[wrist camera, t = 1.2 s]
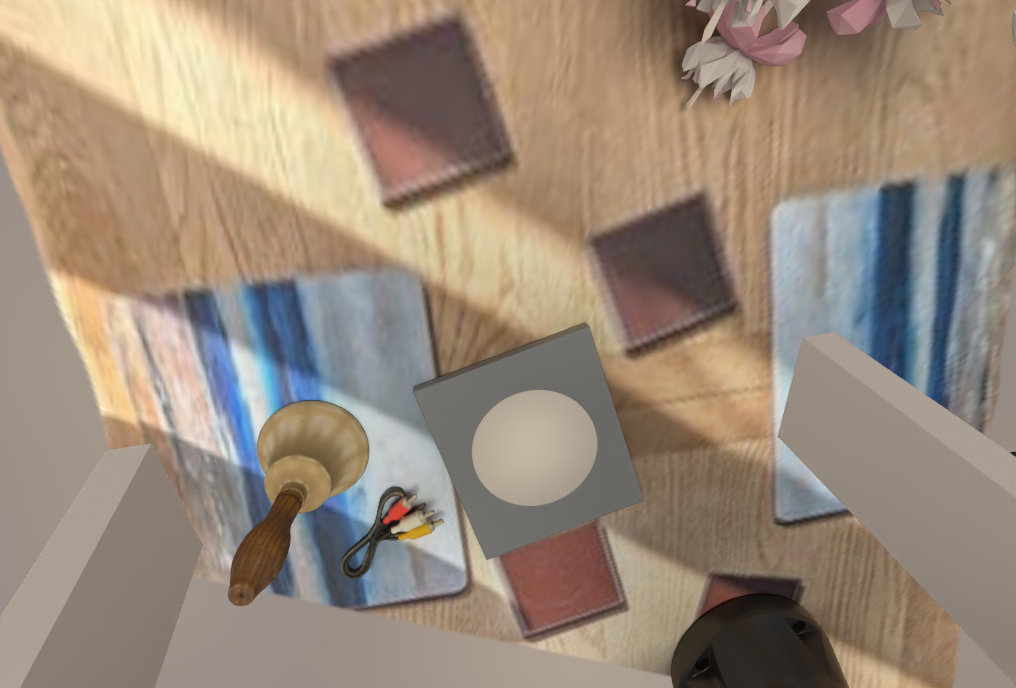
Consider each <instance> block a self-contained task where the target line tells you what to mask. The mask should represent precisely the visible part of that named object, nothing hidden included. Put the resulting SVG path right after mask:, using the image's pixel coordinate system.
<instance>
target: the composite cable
mask: <svg viewBox="0 0 1016 688" xmlns="http://www.w3.org/2000/svg"><path fill="white" fill-rule="evenodd" d="M392 496H401V497H402V498H401V499H400V500H399V501H398V502H397V503H396V504H395V505H393V506H392V507H391V508H390V509H389V512H388V515H387V516H385V517H384V518H383V522H382V523H381V520H380V519H381V513H382V510H383V506H384V504H385V502H386V501H387V500H388V499H389V498H391V497H392ZM416 498H417V495H416V494H414V495H413V496H412V497H407V496H406V494H405V492H404V490H403V489H402V488H399V487H392V488H390V489H388V490H387V491H386V492H385V493H384V494H383V496H382V497H381V499H380V502H379V506H378V511H377V516H376V520H375V523H374V525H373V527H372V529H371V530H370V532H369V533H368V534H367V535H366V536H364V537H363V538H362V539H361V540H360V541H359V542H357V543H356V544H355V545H354V546H353V547H352V548H351V549H350V550H349V551H348V552H347V553H346V555H345V556H344V558H343V560H342V562H341V570H342V573H343V574H344V576H346V577H347V578H349V579H357V578H360V577H361V576H363V575H364V574H365V573H366V572H367V571H368V570H369V568H370V566H371V562H372V560H373V557H374V554H375V551H376V548H377V545H378V543H379V542H380V541H382V540H391V541H395V540H398V539H399V540H400V541H401V540H404V539H406V538H410V539H416V538H419V537H421V536H424V535H427V534H430V533H432V531H434V529H435V527H436V526H438V525H441V524H443V523H444V521H443V519H439V520H438V521H429V520H427V517H429V516H431V515H433V514H434V513H435V511H434V510H431V511H428V512H424V511H423V509H425V506H426V504H425V503H423V504H421V505H419V506H418V507H417V506H414V507H413V508H412V501H414V500H415V499H416ZM401 531H404V532H401ZM396 535H398V536H397V537H395V536H396ZM392 536H393V537H392ZM368 542H370V546H369V549H368V551H367V554H366V557H365V560H364V562H363V564H362V565H361V566H360V567H359V568H357V569H352V568H351V567H349V564H348V562H349V560H350V559H351V558H352V556H353V555H354V554H356V553H357V552H358V551H359V550H360V549H361V548H363V547H364V546H365V545H366V544H367V543H368Z"/></svg>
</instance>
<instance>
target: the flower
mask: <svg viewBox="0 0 1016 688" xmlns="http://www.w3.org/2000/svg"><path fill="white" fill-rule="evenodd" d="M809 1H810V0H767V2H766V3H765V5H764V6H763V0H701V1H700V3H699V5H698V6H697V8H696V9H698V10H701V11H703V12H706V13H707V14H708V16H709V17H710V19H711V20H710V21H709V23H708V24H707V27H706V28H705V30H704V34H703V38H702V42H700V41H699V42H698V43H696V44H694V45H692V46H691V47H689V48H688V49H687V52H686V54H685V57H684V59H683V62H682V67H683V71H687V70H689V69H690V70H689V72H688V74H687V75H686V76H684V77H683V78H681V79H688V78H689V77H690V76H691V75H692V73H693V72H695V74H694V76H693V77H694V78H693V79H691V78H692V77H691V78H690V79H691V80H694V82H695V83H698V84H699V86H700V87H699V88H698V90H697V91H696V92H695V94H694V95H693V96H692V97H691V99H690V100H689V101H688V103H687V110H688V109H689V108H690V107H691V106H692V104H693V103H694V102H695V100H696V99H697V97H698V96H699V94H700V93H701V92H702V90H703V89H704V87H705V86H706V85H708V84H710V83H711V82H713V81H714V82H713V85H712V88H713V87H715V86H716V87H715V90H714V102H715V99H717V102H718V103H719V99H720V94H722V93H724V92H726V91H728V90H730V89H732V92H731V97H730V102H729V106H730V105H731V104H732V102H733V101H734V100H740V99H747V98H749V97H750V96H751V95H752V91H753V86H754V81H755V77H756V72H755V68H754V65H753V61H752V60H754V61H756V62H758V63H760V64H762V65H764V66H787V65H788V64H789V63H790V62H791V61H793V60H794V59H795V58H796V57H798V56H799V55H800V54H801V52H802V49H803V46H804V43H805V40H806V36H807V35H806V34H804V33H803V32H802V31H801V30H800V29H799V30H798V27H799V24H797V23H795V22H793V21H791V20H792V19H793V18H794V17H795V16H796V15H797V14H798V13H799V12H800V11H801V10H802V9H803V8H804V7H805V5H806V4H807V3H808V2H809ZM946 1H947V2H949V1H948V0H946ZM949 3H950V2H949ZM950 4H951V3H950ZM695 5H696V0H690V1H689V2H688V3H687V4H686V5H685V6H695ZM940 5H941V2H939V0H930V1H929V0H851V1H849V2H847V3H845V4H842V5H840V6H838V7H835V8H833V9H831V10H829V11H826V12H827V15H828V18H829V21H830V25H831V28H832V30H833V31H834V32H836V33H837V34H838V35H846V34H856V33H859V32H860V31H862V30H863V29H864V28H865V27H866V26H867V25H872V24H880V22H881V21H882V20H883V19H884V17H885V16H886V15H887V14H888V16H889V19H890V22H891V25H892V28H897V29H910V30H917V29H918V28H919V27H920V26H921V25H922V23H921V21H920V19H919V17H918V15H917V13H916V11H929V12H932V13H935V14H938V15H941V16H943V13H942V10H941V7H940ZM773 6H774V8H775V9H776V11H777V20H778V27H777V28H775V29H773V30H772V31H770V32H769V33H767V34H765V35H763V36H759V37H758V34H759V31H760V28H761V24H762V21H763V18H765V16H766V14H767V13H768V12H769V10H770V9H771V8H772V7H773ZM715 27H716V28H717V30H718V31H719V33H720V35H721V36H717V37H712V38H710V37H711V35H712V33H713V31H714V29H715ZM1012 35H1013V45H1015V46H1016V9H1015V10H1014V11H1013V21H1012ZM691 80H690V81H691Z"/></svg>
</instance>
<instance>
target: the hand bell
mask: <svg viewBox="0 0 1016 688" xmlns="http://www.w3.org/2000/svg"><path fill="white" fill-rule="evenodd" d="M257 452H258V458H259V461H260V464H261V467H262V469H263V471H264V472H265V474H266V476H265V480H264V486H265V491H266V494H267V496H268V498H269V499H270V500H271V502H272V503H273V505H272V507H271V510H270V512H269V514H268V516H267V517H266V518H265V519H264V520H263V521H262V522H260V523H259V524H257V525H256V526H255V527H254V528H253V529H252V530H251V531H250V532H249V533H248V534H247V536H246V537H245V538H244V540H243V541H242V543H241V544H240V546H239V548H238V550H237V552H236V554H235V556H234V558H233V561H232V566H231V578H230V587H229V591H228V599H229V601H231V603H233V604H234V605H236V606H246V605H248V604H250V603H251V602H252V601H253V600H254V599H255V597H256V596H257V595H258V594H259V593H260V592H261V591H262V590H264V589H265V588H266V587H267V586H268V585H269V584H270V583H271V582H272V581H273V580H274V579H275V578H276V576H277V575H278V574H279V572H280V570H281V568H282V567H283V564H284V562H285V560H286V557H287V554H288V550H289V547H290V539H291V537H290V528H291V524H292V523H293V521H294V519H295V517H296V515H297V514H298V513H305V512H309V511H312V510H314V509H316V508H318V507H319V506H321V505H322V504H323V503H324V502H325V501H326V500H327V498H328V497H332V496H335V495H338V494H340V493H342V492H344V491H346V490H347V489H349V488H350V487H351V486H353V485H354V484H355V483H356V482H357V481H358V480H359V478H360V477H361V476H362V474H363V472H364V471H365V468H366V466H367V463H368V458H369V446H368V440H367V437H366V434H365V432H364V430H363V428H362V426H361V425H360V423H359V422H358V421H357V420H356V419H355V418H354V417H353V416H352V415H351V414H349V413H348V412H347V411H345V410H344V409H342V408H340V407H338V406H336V405H333V404H330V403H327V402H322V401H300V402H296V403H292V404H290V405H287V406H285V407H283V408H281V409H279V410H278V411H277V412H275V413H274V414H273V415H272V416H271V417H270V418H269V419H268V420H267V421H266V423H265V424H264V426H263V427H262V429H261V431H260V434H259V437H258V444H257Z"/></svg>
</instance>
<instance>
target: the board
mask: <svg viewBox="0 0 1016 688" xmlns="http://www.w3.org/2000/svg"><path fill="white" fill-rule="evenodd" d="M413 393H414V395H415V397H416V399H417V402H418V404H419V406H420V409H421V411H422V413H423V416H424V418H425V420H426V422H427V425H428V427H429V429H430V432H431V434H432V436H433V438H434V441H435V443H436V445H437V448H438V450H439V452H440V454H441V457H442V459H443V461H444V464H445V466H446V468H447V471H448V473H449V475H450V477H451V480H452V482H453V484H454V487H455V489H456V491H457V493H458V496H459V498H460V500H461V503H462V505H463V507H464V509H465V512H466V514H467V516H468V519H469V521H470V523H471V526H472V528H473V530H474V532H475V535H476V537H477V539H478V542H479V544H480V546H481V548H482V551H483V553H484V555H485V558H486V560H488V559H491V558H493V557H496V556H499V555H501V554H504V553H507V552H509V551H512V550H514V549H517V548H520V547H522V546H525V545H528V544H530V543H533V542H535V541H538V540H541V539H543V538H546V537H549V536H551V535H554V534H556V533H559V532H562V531H564V530H567V529H570V528H572V527H575V526H577V525H580V524H583V523H585V522H588V521H591V520H593V519H596V518H598V517H601V516H604V515H606V514H609V513H612V512H614V511H617V510H619V509H622V508H625V507H627V506H630V505H633V504H635V503H638V502H640V501H643V500H644V499H643V496H642V493H641V489H640V486H639V483H638V480H637V477H636V474H635V470H634V467H633V464H632V461H631V458H630V455H629V451H628V448H627V445H626V442H625V439H624V435H623V432H622V429H621V426H620V423H619V420H618V416H617V413H616V410H615V407H614V404H613V401H612V397H611V394H610V391H609V388H608V385H607V381H606V378H605V375H604V372H603V369H602V366H601V362H600V359H599V356H598V353H597V350H596V347H595V343H594V340H593V337H592V334H591V331H590V327H589V326H588V325H587V324H586V323H583V324H580V325H578V326H575V327H572V328H570V329H567V330H564V331H562V332H559V333H556V334H554V335H551V336H548V337H546V338H543V339H540V340H538V341H535V342H532V343H530V344H527V345H524V346H522V347H519V348H516V349H513V350H511V351H508V352H505V353H503V354H500V355H497V356H495V357H492V358H489V359H487V360H484V361H481V362H479V363H476V364H473V365H471V366H468V367H465V368H463V369H460V370H457V371H455V372H452V373H449V374H447V375H444V376H441V377H439V378H436V379H433V380H431V381H428V382H425V383H423V384H420V385H417V386H414V391H413Z"/></svg>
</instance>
